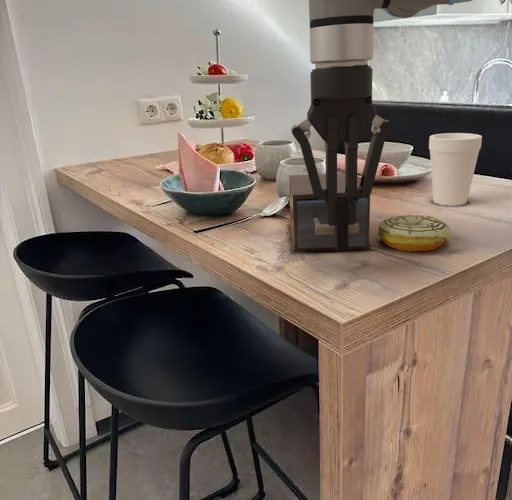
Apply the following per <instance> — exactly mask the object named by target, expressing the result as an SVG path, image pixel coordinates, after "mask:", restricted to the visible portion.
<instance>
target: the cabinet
mask: <svg viewBox="0 0 512 500" xmlns="http://www.w3.org/2000/svg"><path fill="white" fill-rule="evenodd" d="M318 176H319V180H320V183H321V187H322V189H325V190H326V173H318ZM360 181H361V178H359V176H358V175H357V187H359V185H360ZM288 185H289V186H288V187H289V188H288V189H289V225H290V231H291V237H292V238H291V239H292V245H293V251H294V252H314V251H315V252H317V251H319V252H320V251H337V249H336V247H323V248H298V222H297V201H298V200H304V199H316V198H315V197H314V194H313V191H312V187H311V183H310V180H309V176H308V174H293V175H292V174H291V175H288ZM337 198H346V195H345V172H337ZM363 198H367V200H368V206H367V242H366V246H349V247H348V250H367V249H370V222H371V221H370V220H371V218H370V216H371V195H370V196H368V197H363Z"/></svg>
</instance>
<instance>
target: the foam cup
mask: <svg viewBox="0 0 512 500" xmlns="http://www.w3.org/2000/svg"><path fill="white" fill-rule="evenodd" d="M482 140H483V135H480V134H476V133H469V132H467V133H465V132H446V133H436V134H432V135H430V136H429V140H428V149H429V157H430V173H431V187H432V198H433V202H434V203H435V204H437V205H441V206H454V207H455V206H462V205H463V206H464V205H466V204H467V202H468V199H469V196H470V195H469V194H470V191H471V186H472V182H473V178H474V174H475V170H476V165H477V161H478V158H479V157H478V156H479V154H480V150H481V149H482V142H483V141H482Z"/></svg>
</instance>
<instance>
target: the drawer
mask: <svg viewBox="0 0 512 500" xmlns="http://www.w3.org/2000/svg"><path fill="white" fill-rule="evenodd" d="M337 199H346V198H337ZM367 206H368V200H367V198H360V199H359V200H358V201H357V204H356V223H355V225H348V247H349V246H366V242H367ZM297 222H298V248H323V247H336V246H335V226H329V224H328V222H327V203H326V201H324V200H320V199H319V200H318V199H304V200H298V201H297Z"/></svg>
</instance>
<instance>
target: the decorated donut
mask: <svg viewBox="0 0 512 500" xmlns="http://www.w3.org/2000/svg"><path fill="white" fill-rule="evenodd" d="M452 235H453V234H452V230H451V227H450V226H449V225H448V224H447V223H446V222H444V221H443V220H441V219H439V218H436V217H434V216H430V215H423V214H421V215H420V214H419V215H412V214H411V215H410V214H407V215H398V216H391V217H388V218H386V219H385V218H384V219H383V220H382V221H380V222H379V224H378V236H379V238H380V239H381V242H383V243H384V244H385V245H386V246H388V247H390V248H391V249H394V250H399V251H404V252H409V253H410V252H429V251H433V250H435V249H438V248H440V247H441V246H442V245H444V244H445V243H446V242H449V241H450V240H451V238H452Z"/></svg>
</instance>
